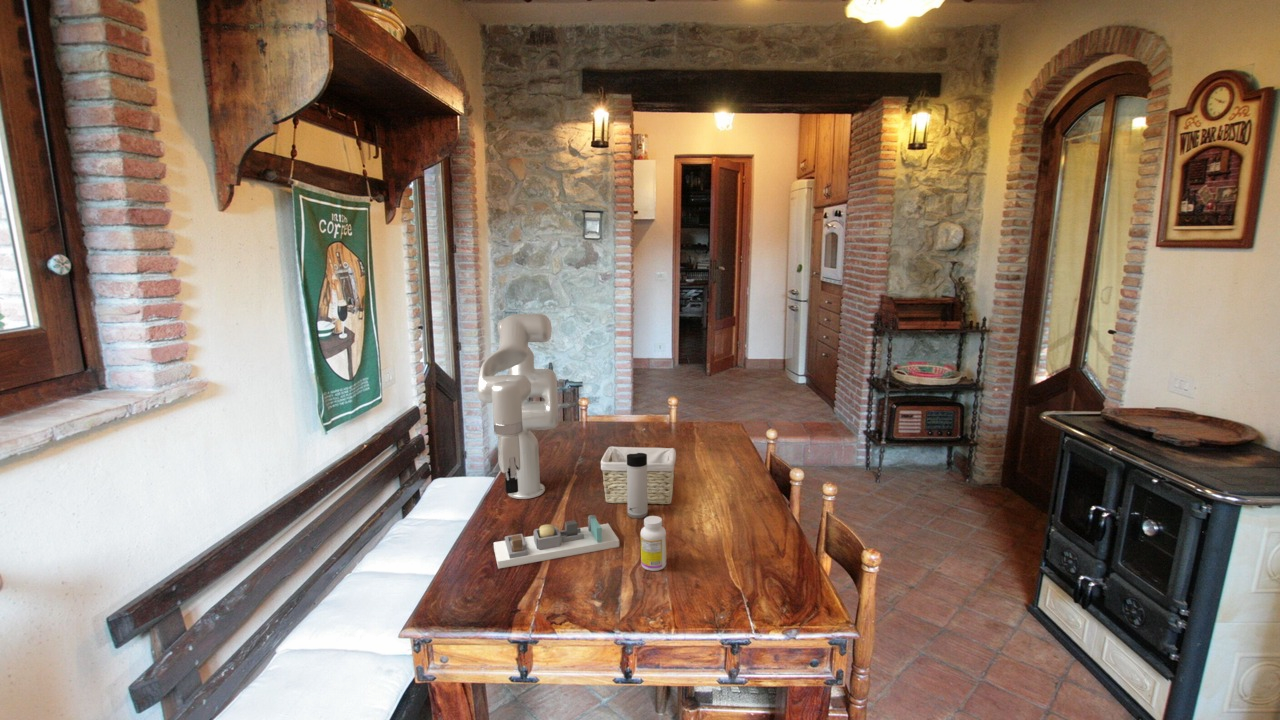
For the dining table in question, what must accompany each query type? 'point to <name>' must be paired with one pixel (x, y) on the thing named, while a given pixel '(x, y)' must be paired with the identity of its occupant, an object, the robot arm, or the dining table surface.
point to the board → (552, 545)
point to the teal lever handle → (595, 528)
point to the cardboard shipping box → (517, 543)
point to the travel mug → (637, 485)
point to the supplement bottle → (653, 544)
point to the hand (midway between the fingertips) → (511, 491)
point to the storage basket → (657, 473)
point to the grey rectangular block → (571, 528)
